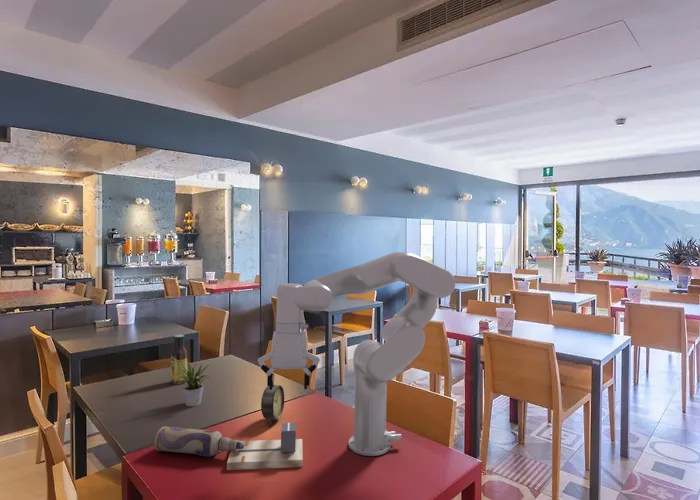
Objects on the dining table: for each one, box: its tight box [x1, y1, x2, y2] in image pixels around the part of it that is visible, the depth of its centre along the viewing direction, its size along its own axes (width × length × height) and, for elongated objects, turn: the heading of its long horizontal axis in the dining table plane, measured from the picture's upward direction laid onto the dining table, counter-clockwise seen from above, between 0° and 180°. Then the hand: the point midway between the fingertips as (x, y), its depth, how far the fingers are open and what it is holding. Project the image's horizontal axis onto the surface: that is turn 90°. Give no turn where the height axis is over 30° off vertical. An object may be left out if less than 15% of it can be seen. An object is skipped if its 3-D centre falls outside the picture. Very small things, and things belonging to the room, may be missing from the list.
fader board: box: [226, 438, 304, 471], centre depth 123 cm, size 20×12×2 cm, turn 97°
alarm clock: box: [260, 372, 285, 428], centre depth 146 cm, size 11×5×16 cm, turn 168°
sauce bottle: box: [170, 334, 188, 385], centre depth 182 cm, size 6×6×20 cm
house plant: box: [175, 360, 213, 407], centre depth 160 cm, size 14×14×16 cm
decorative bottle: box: [153, 425, 244, 458], centre depth 123 cm, size 26×8×7 cm, turn 79°
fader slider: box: [280, 422, 297, 453], centre depth 123 cm, size 4×5×6 cm
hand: (288, 388), depth 123 cm, fingers open, 9 cm apart
